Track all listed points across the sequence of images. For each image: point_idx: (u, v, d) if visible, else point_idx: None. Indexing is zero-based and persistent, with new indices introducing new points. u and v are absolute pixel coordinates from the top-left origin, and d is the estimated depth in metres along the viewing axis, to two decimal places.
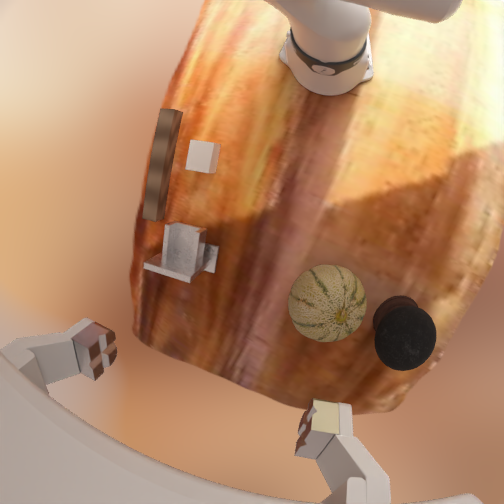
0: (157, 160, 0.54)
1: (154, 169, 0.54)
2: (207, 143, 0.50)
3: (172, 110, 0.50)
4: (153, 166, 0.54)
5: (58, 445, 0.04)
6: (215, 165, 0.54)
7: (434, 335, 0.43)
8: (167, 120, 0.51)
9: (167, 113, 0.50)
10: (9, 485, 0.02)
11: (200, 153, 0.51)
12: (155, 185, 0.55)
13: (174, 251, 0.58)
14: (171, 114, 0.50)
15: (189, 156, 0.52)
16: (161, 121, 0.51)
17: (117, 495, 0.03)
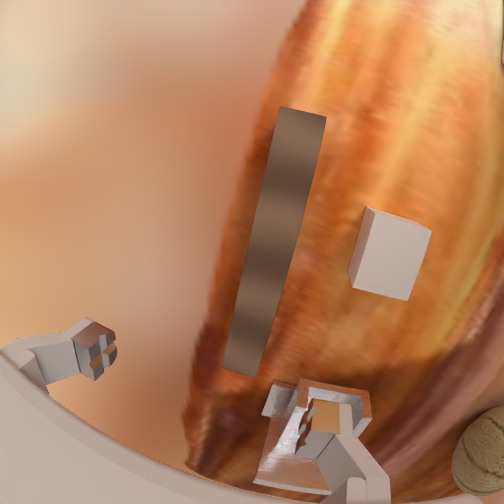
0: (270, 253, 0.22)
1: (260, 274, 0.23)
2: (416, 230, 0.18)
3: (319, 118, 0.18)
4: (256, 266, 0.23)
5: (58, 445, 0.04)
6: None
7: None
8: (303, 144, 0.19)
9: (303, 124, 0.19)
10: (9, 485, 0.02)
11: (396, 253, 0.19)
12: (260, 311, 0.24)
13: None
14: (315, 130, 0.19)
15: (368, 257, 0.20)
16: (283, 144, 0.19)
17: (117, 495, 0.03)
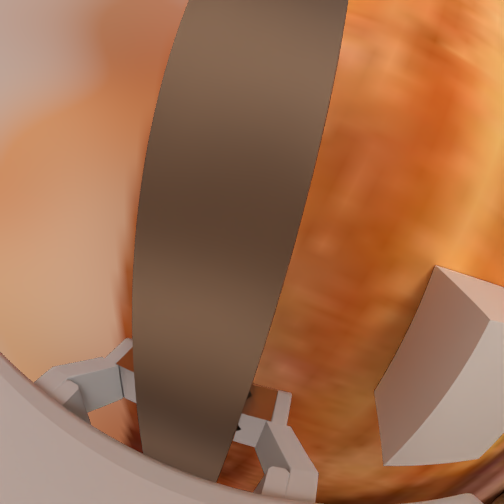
0: (185, 402, 0.07)
1: (173, 429, 0.08)
2: None
3: None
4: (160, 415, 0.08)
5: (58, 445, 0.04)
6: None
7: None
8: (270, 77, 0.05)
9: (267, 15, 0.04)
10: (9, 485, 0.02)
11: (497, 399, 0.05)
12: (189, 471, 0.09)
13: None
14: (312, 29, 0.04)
15: (437, 419, 0.06)
16: (199, 83, 0.05)
17: (117, 495, 0.03)
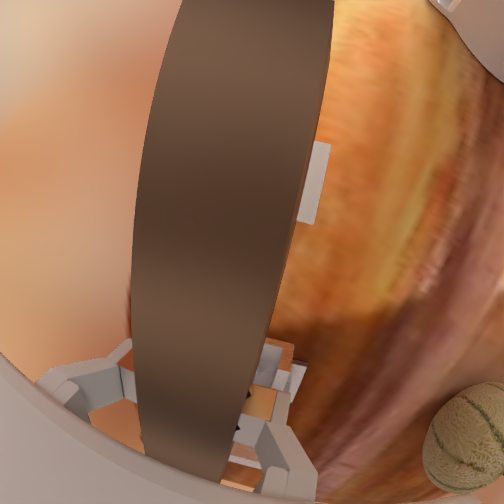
0: (185, 404, 0.08)
1: (174, 431, 0.08)
2: None
3: (309, 4, 0.04)
4: (161, 416, 0.08)
5: (58, 445, 0.04)
6: None
7: None
8: (258, 84, 0.05)
9: (255, 23, 0.04)
10: (9, 485, 0.02)
11: None
12: (191, 472, 0.09)
13: None
14: (299, 35, 0.04)
15: None
16: (190, 92, 0.05)
17: (117, 495, 0.03)
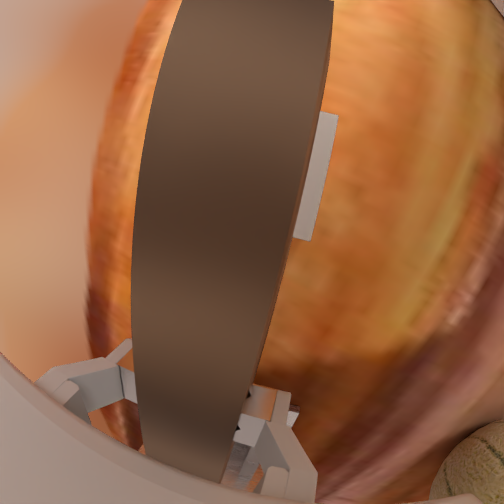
0: (185, 404, 0.08)
1: (174, 431, 0.08)
2: None
3: (308, 5, 0.04)
4: (161, 417, 0.08)
5: (58, 445, 0.04)
6: None
7: None
8: (258, 85, 0.05)
9: (254, 24, 0.04)
10: (9, 485, 0.02)
11: None
12: (192, 473, 0.09)
13: None
14: (298, 36, 0.04)
15: None
16: (190, 93, 0.05)
17: (117, 495, 0.03)
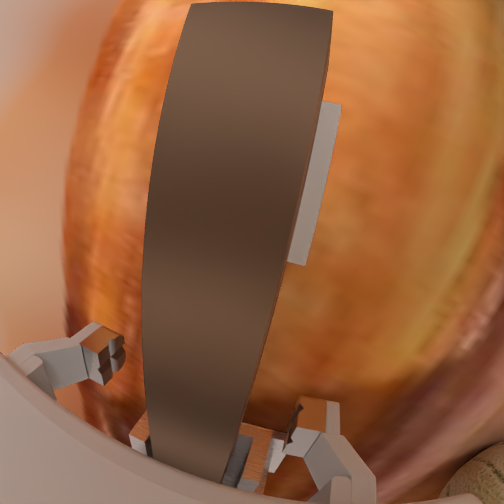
0: (192, 393, 0.08)
1: (180, 421, 0.09)
2: None
3: (309, 15, 0.04)
4: (169, 407, 0.09)
5: (58, 445, 0.04)
6: None
7: None
8: (262, 91, 0.05)
9: (258, 33, 0.05)
10: (9, 485, 0.02)
11: None
12: (197, 464, 0.10)
13: None
14: (299, 45, 0.05)
15: None
16: (199, 98, 0.06)
17: (117, 495, 0.03)
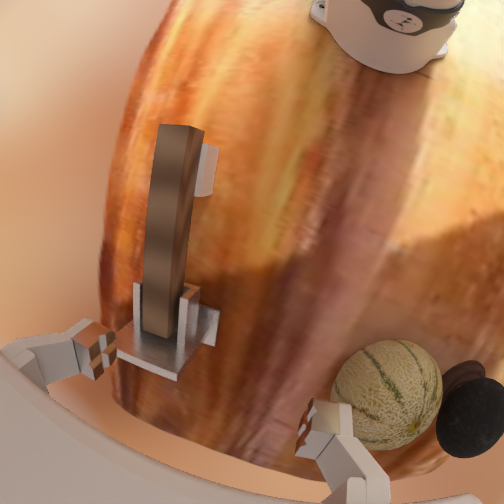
0: (159, 232, 0.28)
1: (155, 248, 0.29)
2: None
3: (184, 128, 0.25)
4: (152, 242, 0.29)
5: (58, 445, 0.04)
6: (211, 183, 0.33)
7: None
8: (174, 149, 0.26)
9: (174, 134, 0.25)
10: (9, 485, 0.02)
11: None
12: (160, 278, 0.30)
13: None
14: (182, 137, 0.25)
15: None
16: (162, 151, 0.26)
17: (117, 495, 0.03)
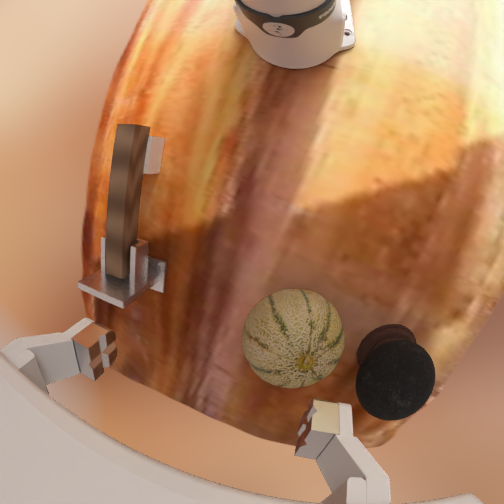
0: (116, 198, 0.38)
1: (114, 210, 0.39)
2: None
3: (132, 126, 0.34)
4: (112, 205, 0.39)
5: (58, 445, 0.04)
6: (157, 164, 0.43)
7: (432, 380, 0.31)
8: (126, 140, 0.35)
9: (126, 130, 0.35)
10: (9, 485, 0.02)
11: None
12: (117, 232, 0.40)
13: None
14: (131, 132, 0.35)
15: None
16: (119, 142, 0.36)
17: (117, 495, 0.03)
